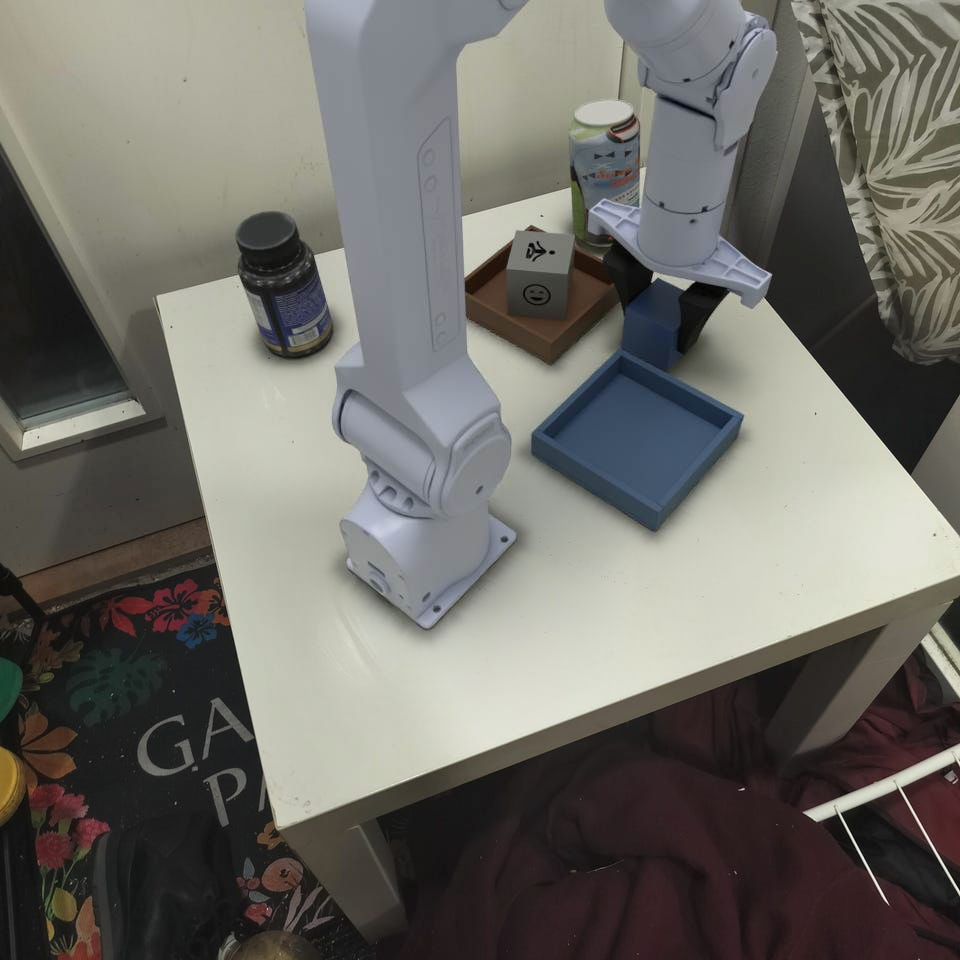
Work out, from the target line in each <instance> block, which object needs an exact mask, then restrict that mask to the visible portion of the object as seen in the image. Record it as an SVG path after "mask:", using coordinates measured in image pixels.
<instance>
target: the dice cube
mask: <svg viewBox="0 0 960 960" xmlns="http://www.w3.org/2000/svg"><path fill="white" fill-rule="evenodd" d="M546 232H547V231H545V232H534V231H524V230H520V229H519V230H518V229H516V230H515V233H514V237H513V239H514V241H513V244H512V248H511V252H510V256H509V260H508V264H507V268H506V278H507V309H508V315H514V316H525V317H536V318H546V319H557V320H566V315H567V310H568V305H569V299H570V294H571V289H572V283H573V268H574V248H575V246H576V235H575V234H572V233H571V234H570V233H559V232H547V233H546Z"/></svg>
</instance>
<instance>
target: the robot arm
mask: <svg viewBox="0 0 960 960" xmlns="http://www.w3.org/2000/svg"><path fill="white" fill-rule="evenodd" d="M529 2H530V0H304V17H305V31H306V37H307V41H308V42H307V43H308V49H309V54H310V59H311V66H312V71H313V77H314V83H315V88H316V95H317V100H318V107H319V111H320V118H321V123H322V128H323V136H324V141H325V146H326V153H327V159H328V163H329V170H330V176H331V179H332V180H331V183H332V187H333V192H334V199H335V205H336V210H337V211H336V212H337V217H338V221H339V228H340V234H341V239H342V245H343V250H344V251H343V252H344V256H345V257H344V258H345V262H346V267H347V273H348V279H349V285H350V291H351V296H352V302H353V308H354V314H355V320H356V325H357V326H356V327H357V331H358V332H357V333H358V338H359V341H358V342H357V343H355V344H354V345H352V347H350V348H349V349H348V350H347V351H346V352H345V354H343V355H342V357H341V358H340V359H339V360H338V361H337V362H336V363H335V365H334V366H333V368H334V373H335V379H336V391H335V392H336V393H335V397H334V399H333V400H334V401H333V405H332V409H331V425H332V429H333V431H334V433H335V435H336V436H337V438H338V439H340V440H341V441H342V442H344V443H345V444H348V445H350V446H352V447H354V448H355V449H356V450H357V451H359V455H360V459H361V461H362V463H364V464H365V466H366V471H367V480H366V483H365V486H364V488H363V489H362V492H361V493H360V495H359V497H358V499H357V500H356V501H355V503H354V505H352V507H351V508H349V510H348V511H347V512H346V513H345V514H344V515H343V516H342V518H341V519H340V521H339V530H340V533H341V536H342V539H343V542H344V545H345V547H346V550H347V553H348V556H349V557H348V558H347V559H346V566H347V568H348V569H349V570H350V571H351V572H352V573H354V574H355V575H356V576H358V577H359V578H360V579H361V580H362V581H364V583H366V584H368V585H369V586H370V587H371V588H372V589H374V590H375V591H377V592H378V593H379V594H380V595H381V596H382V597H384V598H385V599H387V600H388V602H390V603H391V604H393V606H395V607H396V608H398V609H399V610H400V611H401V612H403V613H404V615H406V616H408V617H409V618H410V619H411V620H413V622H415V623H416V624H418V625H419V626H420V627H421V628H423V629H426V630H427V629H431V628H432V627H433V626H435V624H436V623H437V622H438V621H439V620H440V619H441V618H443V616H444V615H445V614H446V613H447V612H448V611H449V610H450V609H451V608H452V607H453V606H454V605H455V604H456V603H457V602H458V601H459V600H460V598H462V596H463V595H464V594H466V592H467V591H468V590H470V588H471V587H472V586H473V585H474V584H475V583H476V582H477V581H478V580H479V579H480V578H481V577H482V576H483V575H484V574H485V572H487V571H488V570H489V568H491V566H492V565H493V564H494V563H495V562H496V561H498V559H499V558H500V557H501V556H502V555H503V554H504V553H505V552H506V551H507V550H508V549H509V548H510V547H511V546H512V544H513V543H515V542H516V540H517V533H516V531H515V530H514V529H512V528H511V527H510V526H508V525H506V524H505V523H504V522H502V521H501V520H499V519H498V518H496V517H495V516H493V515H492V514H491V513H489V505H488V499H489V498H490V497H491V496H492V495H493V493H494V492H495V491H496V489H497V488H498V486H499V485H500V483H501V482H502V480H503V479H504V477H505V474H506V472H507V470H508V468H509V465H510V462H511V457H512V441H513V439H512V434H511V431H510V429H509V428H507V426H506V425H505V424H504V423H503V420H502V413H501V411H502V407H501V406H502V405H501V400H500V399H499V397H498V396H497V395H496V393H495V392H494V390H493V389H492V387H491V385H490V384H489V383H488V381H487V380H486V379H485V378H484V376H483V374H482V373H481V372H480V371H479V369H478V367H477V366H476V365H475V363H474V362H473V361H472V359H471V357H470V355H469V353H468V338H467V337H468V334H467V317H466V306H465V280H464V278H465V256H464V255H465V254H464V234H463V233H464V232H463V205H462V180H461V177H462V176H461V154H460V152H461V151H460V129H459V104H458V99H459V98H458V79H457V77H458V75H457V63H458V58H459V56H460V54H461V52H462V51H463V50H464V48H465V47H466V46H467V45H469V44H474V43H477V42H480V41H485V40H488V39H491V38H495V37H497V36H498V35H499V34H500V33H501V32H502V31H503V30H504V29H505V28H506V26H507V25H508V24H509V23H510V22H511V21H512V20H513V19H514V18H515V17H516V16H517V15H518V14H519V13H520V11H521V10H522V9H523V8H524V7H525V6H526V5H527V4H528V3H529ZM603 8H604V13H605V16H606V19H607V21H608V22H609V24H610V25H611V27H612V29H613V30H614V32H616V33H617V35H618V36H619V37H621V39H622V40H623V41H624V43H625V44H626V45H627V46H628V47H629V48H630V49H631V51H632V52H633V53H634V54H635V55H636V56H637V70H636V71H637V81H638V84H639V86H640V88H646V89H648V90H652V92H653V93H655V94H656V95H654V100H653V101H654V102H653V109H652V117H651V126H650V134H649V142H648V149H647V158H646V164H645V165H646V166H645V174H644V182H643V190H642V198H641V204H640V205H641V206H640V207H639V208H638V207H633V206H627V205H623V204H618V203H615V202H612V201H610V200H607V199H605V198H604V199H602V200H601V201H600V202H599V203H598V204H596V205H595V206H594V207H593V208H591V209H590V210H589V217H588V231H589V232H591V233H593V234H595V235H600V234H602V232H605V233H607V234H609V235H611V236H613V237H614V238H613V244H612V245H611V246H610V249H609V250H607V251H606V252H605V253H604V255H603V257H602V260H603V267H604V269H605V270H606V271H607V273H608V274H609V276H610V278H611V279H612V281H613V283H614V285H615V287H616V290H617V292H618V295H619V298H620V302H619V303H620V306H621V310H622V315H623V318H624V317H625V309H626V307H627V306H628V305H629V304H630V303H631V302H632V301H633V300H634V299H635V298H636V297H637V296H639V295H640V294H641V293H642V292H643V291H644V290H645V289H646V288H647V287H648V286H649V285H650V284H651V283H652V282H653V277H654V274H655V273H656V274H660V275H664V276H668V277H674V278H678V279H683V280H688V281H693V283H691V284H690V285H689V286H688V287H687V288H686V289H685V290H684V292H683V293H682V294H681V295H680V296H679V299H678V302H679V306H680V312H681V325H680V331H679V335H678V340H677V351H678V352H680V353H681V354H684V355H686V354H687V353H688V352H689V351H690V350H691V349H692V348H693V347H694V345H695V344H697V343H698V340H699V338H700V336H701V334H702V331H703V330H704V328H705V326H706V324H707V322H708V321H709V319H711V318H710V317H711V316H712V315H713V314H714V312H715V311H716V310H717V308H718V307H719V306H720V304H721V303H722V302H723V301H724V299H726V297H728V295H729V294H730V293H731V294H734V295H736V296H738V297H741V298H740V304H741V305H742V306H745V307H747V308H748V309H750V310H753V309H754V308H755V307H756V306H757V305H759V304H760V303H761V302H762V301H763V299H764V298H765V297H767V294H768V290H769V287H770V284H771V280H772V276H773V274H772V273H771V272H769V271H767V270H764V269H763V268H761V267H760V266H758V265H756V264H755V263H754V262H752V261H751V260H750V259H749V258H748V257H746V256H745V255H744V254H743V253H742V252H740V251H739V250H738V249H737V248H736V247H734V246H733V245H732V244H731V243H730V242H729V241H728V240H726V239H725V238H724V237H722V235H721V234H720V232H721V227H722V222H723V217H724V213H725V208H726V203H727V199H728V195H729V191H730V187H731V182H732V177H733V172H734V168H735V163H736V159H737V154H738V150H739V144H740V141H741V138H742V137H744V136H745V135H746V134H747V133H748V132H749V130H750V126H751V124H752V123H753V122H754V117H755V115H756V114H755V113H756V110H757V106H758V103H759V100H760V98H761V96H762V94H763V92H764V90H765V88H766V87H767V84H768V82H769V80H770V78H771V75H772V73H773V70H774V68H775V64H776V61H777V58H778V54H779V51H778V50H777V44H778V43H777V42H778V40H777V36H776V33H775V32H774V31H773V30H771V29H770V25H769V22H768V20H767V18H766V17H764V16H762V15H759V14H756V13H753V12H750V11H747V10H745V9H744V8H743V6H742V4H741V2H740V0H603ZM503 540H506V542H504V541H503ZM436 609H439V611H437V612H436V611H435V610H436Z"/></svg>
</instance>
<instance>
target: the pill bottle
mask: <svg viewBox="0 0 960 960" xmlns="http://www.w3.org/2000/svg"><path fill="white" fill-rule="evenodd" d="M234 236H235V241H236V244H237V247H238V250H239V252H240V255H239V258H238V262H237V273H238V278H240V282H241V284H242V287H243V290H244V293H245V296H246V297H247V301H248V304H249V306H250V309H251V311H252V314H253V317H254V320H255V323H256V325H257V328H258V330H259V334H260V335H261V339H262V341H263V343H264V344H265V346H266V347H267V348H268V350H270V351H271V352H272V353H274V354H276V355H280V356H283V357H300V356H301V357H302V356H305V355H309V354H311V353H312V354H313V353H314V352H316V351H317V350H320V349H321V348H322V347H323V346H324V345H325V344H326V343H328V341H329V340H330V338H331V336H332V333H333V328H334V324H333V320H332V315H331V313H330V308H329V306H328V301H327V298H326V294H325V291H324V290H325V289H324V287H323V283H322V280H321V276H320V271H319V269H318V265H317V261H316V257H315V254H314V252H313V250H312V248H311V246H309V244H307V242H306V241H304V240H303V239H301V238H300V237H301V236H300V233H299V229H298V227H297V223H296V221H295V220H294V218H293V217H292V216H291V215H289V214H287V213H286V212H282V211H277V210H269V211H266V210H265V211H260V212H258V213H254V214H252V215H250V216H248V217H247V218H245V219H244V220H243V221H241V222H240V223H239V225H238V226H237V228H236V230H235V233H234Z"/></svg>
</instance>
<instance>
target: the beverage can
mask: <svg viewBox="0 0 960 960" xmlns="http://www.w3.org/2000/svg"><path fill="white" fill-rule="evenodd" d="M633 106H634V105H632V104H631V103H629V102H628V101H625V100H623V99H618V98H601V99H594V100H591V101H588V102H585V103H583V104H581V105H579V107H577V108H576V109H575V111H574V113H573V114H574V115H573V116H574V117H573V119H572V120H571V122H570V124H569V127H568V135H567V136H568V151H569V171H570V172H569V173H570V191H571V192H570V193H571V209H572V210H571V212H572V227H573V228H572V229H573V233H574V235H575V237H577V238H578V239H579V240H581V241H582V242H585V243H586V244H588V245H590V246H592V247H593V246H594V247H598V248H599V247H600V248H606V247H607V248H608V247H611V245H612V244H613V238H614V237H613V236H611V235H609V234H607V233H605V232H602V234H600V235H595V234H593V233H591V232H589V231H588V217H589V210H590V209H591V208H593V207H594V206H595V205H596V204H598V203H599V202H600V201H601V200H602V199H604V198H605V199H607V200H610V201H612V202H615V203H618V204H623V205H627V206H633V207H638V208H640V199H641V198H640V194H641V193H640V189H641V187H640V186H641V122H640V120H639V118H638V116H637V115H636V114H635V112H634V107H633Z"/></svg>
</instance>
